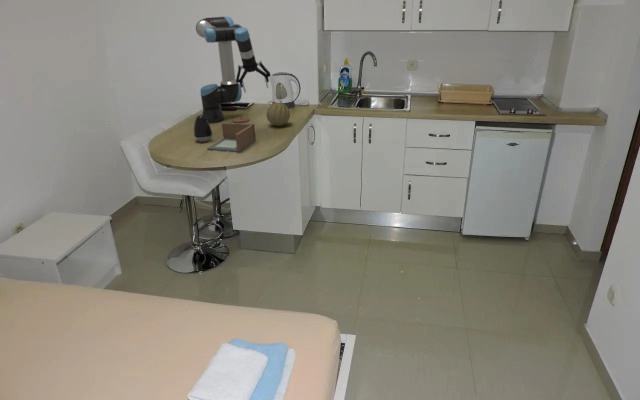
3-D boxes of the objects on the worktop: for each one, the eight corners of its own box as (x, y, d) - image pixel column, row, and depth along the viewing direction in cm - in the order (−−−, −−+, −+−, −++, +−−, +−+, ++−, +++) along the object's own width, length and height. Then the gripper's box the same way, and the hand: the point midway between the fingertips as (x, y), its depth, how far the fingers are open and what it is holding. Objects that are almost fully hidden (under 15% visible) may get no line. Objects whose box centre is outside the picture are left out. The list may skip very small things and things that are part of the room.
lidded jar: (232, 130, 281) (230, 115, 277) (248, 127, 284) (247, 113, 280) (236, 134, 272) (234, 119, 268) (253, 132, 275) (251, 117, 271)
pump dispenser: (204, 144, 257) (200, 118, 250) (191, 141, 262) (187, 116, 255) (216, 139, 265) (213, 114, 258) (204, 137, 270) (200, 112, 263)
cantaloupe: (263, 128, 283) (261, 104, 276) (273, 121, 295) (271, 99, 289) (285, 129, 278) (283, 105, 272) (294, 123, 290) (292, 100, 284)
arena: (207, 150, 247) (204, 132, 243) (225, 139, 264) (222, 122, 260) (240, 152, 241) (237, 134, 237) (255, 141, 259) (254, 124, 254)
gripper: (225, 63, 247) (235, 96, 262) (270, 55, 248) (277, 88, 263) (225, 57, 253) (235, 89, 268) (269, 49, 253) (276, 82, 268)
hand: (256, 89), depth 265 cm, fingers open, 13 cm apart
